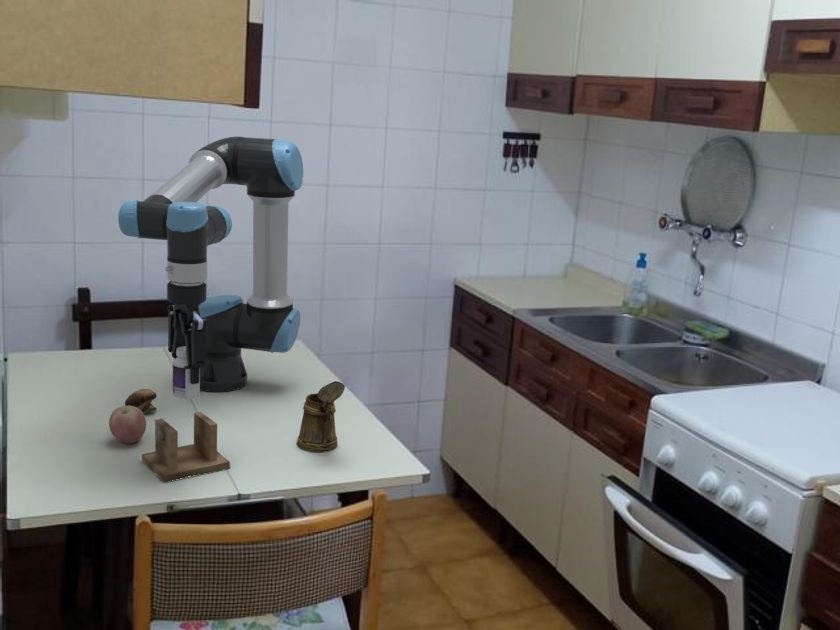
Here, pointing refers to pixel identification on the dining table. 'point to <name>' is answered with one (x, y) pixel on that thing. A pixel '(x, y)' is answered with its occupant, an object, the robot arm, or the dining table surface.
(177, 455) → the holder
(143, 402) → the mushroom
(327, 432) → the wooden mug
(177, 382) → the pill bottle
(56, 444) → the dining table surface
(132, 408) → the apple
